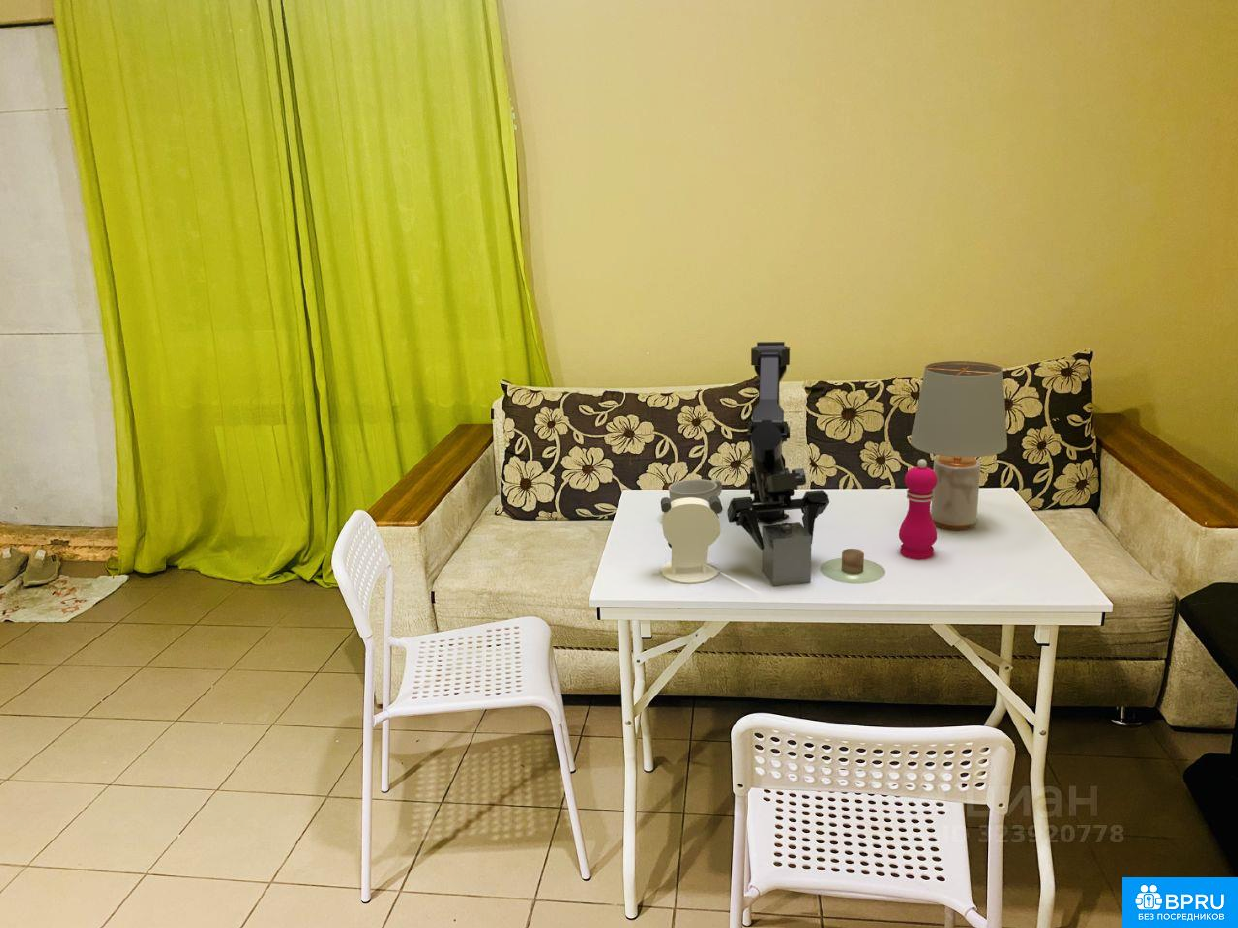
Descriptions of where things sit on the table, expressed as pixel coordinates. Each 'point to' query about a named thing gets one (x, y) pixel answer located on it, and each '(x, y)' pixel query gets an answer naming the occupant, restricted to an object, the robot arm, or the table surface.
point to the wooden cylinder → (852, 561)
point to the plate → (868, 575)
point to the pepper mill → (919, 513)
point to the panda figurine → (690, 537)
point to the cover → (786, 554)
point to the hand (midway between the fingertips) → (786, 547)
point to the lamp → (959, 433)
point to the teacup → (695, 489)
